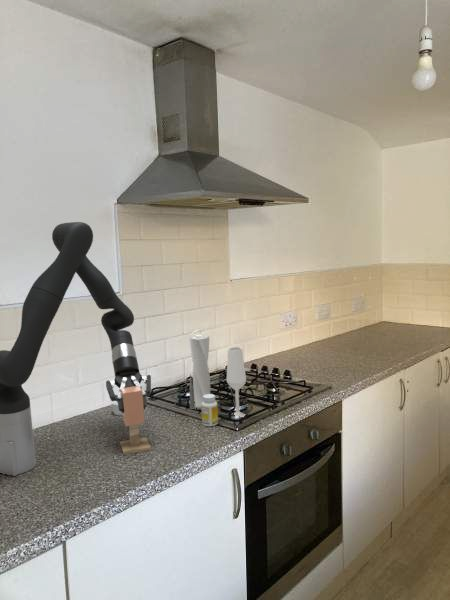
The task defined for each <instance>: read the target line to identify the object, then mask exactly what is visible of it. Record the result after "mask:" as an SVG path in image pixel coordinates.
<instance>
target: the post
mask: <svg viewBox="0 0 450 600" xmlns="http://www.w3.org/2000/svg"><path fill="white" fill-rule="evenodd" d="M128 431H129V432H128V434H129V439H128V440H122V441H119V445H120V448H121V451H122V453H123V455H129V454H134V453H135V454H136V453H140V452H146V451H150V450H151V451H152V447H151V445H150V443H149V440H148V439H147V437H146V436H145V437H140V424H136V425H131V426H128Z"/></svg>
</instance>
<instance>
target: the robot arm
mask: <svg viewBox="0 0 450 600" xmlns="http://www.w3.org/2000/svg"><path fill="white" fill-rule="evenodd" d="M51 233H52V234H51V237H52V238H51V239H52V243H53V245H54V247H55V248H56V249H57V251H58V255H57V257H56V258H55V260H54V261H53V262H52V263H51V264H50V265H49V266H48V267H47V268H46V269H45V270H44V271H43V272H42V273H41V274H40V275H39V276H38V278H36V280H35V281H34V282H33V284H32V286H31V287H30V289H29V292H28V294H27V295H26V297H25V299H24V301H23V305H22V309H21V322H20V324H21V325H20V330H19V333H18V335H17V338H16V340H15V342H14V344H13V346H12V347H11V349H10V350H5V349H4V350H3V349H2V350H0V473H2V474H1V475H5V474H7V475H8V476H11V475H12V477H17V475H20V474H24V473H26V472H29V471H31V470H32V469H34V468H35V467H36V465H37V460H36V458H37V457H36V449H35V440H34V439H35V438H34V430H33V429H34V427H33V420H32V419H33V417H32V409H31V400H30V397H29V396H30V395H28V393H27V392H26V391H25V390H24V388H23V387H22V385H23V384H25V383H26V382H28V380H29V378H30V376H31V375H32V372H33V370H34V369H35V365H36V361H37V359H38V355H39V353H40V350H41V348H42V345H43V343H44V340H45V338H46V336H47V333H48V332H49V329H50V328H51V325H52V323H53V320H55V319H54V318H55V316H56V315H57V312H58V311H59V309H60V307H61V304H62V302H63V300H64V298H65V295H66V293H67V292H68V291H67V290H69V287H70V285H71V283H72V281H73V279H74V277H75V274H77V276H78V277H79V279H81V281H82V282H83V283H82V284H84V286H85V287H86V289H87V290H88V292H89V293H90V294H89V295H90V296H91V298H92V300H93V301H94V302H95V303H94V304H96V306H97V308H98V309H100V310H110V311H106V312H104V313H103V314H102V316H101V318H100V319H101V320H100V321H101V325H102V327H103V329H104V331H105V332H106V335H107V337H108V340H109V342H110V348H111V360H112V362H111V363H112V366H113V372H114V379H113V380H106V381H105V388H106V391H107V394H108V395H109V399H110V401H111V402H112V401H117V402H118V408H119V411H121V412H122V413H124V405H123V399H122V393H121V389H124V388H126V387H133V386H137V387H139V386H140V388H141V389H142V394H143V407H144V410H146V408H147V406H148V402H147V397H150V396H151V391H152V376H151V374H148V375H146V376H145V375H142V374H141V372H140V368H139V363H138V358H137V357H138V356H137V353H136V350H135V347H134V341H133V337H132V334H131V332H130V331H129V330H124V329H126V328H129V327H131V326H132V325H133V324H134V321H135V317H134V314H133V311H132V310H131V309H130V308H129V306H128V305H127V304H126V303H124V302H123V301H122V300H121V298H119V296H118V295H117V293H116V292H115V289H114V288H113V286H112V284H111V283H110V281H109V280H108V279H107V277H106V275H104V274H103V272H102V271H100V269H98V267H96V266H95V264H93V263H92V261H91V260H90V259H89V258H88V256H87V254H88V253H89V251H90V249H91V247H92V244H93V242H94V232H93V230H92V227H91V226H90V225H89V224H87V223H85V222H81V221H74V222H73V221H71V222H63V223H62V222H61V223H59V224H56V226H55V227H54V229H53V230H52V232H51ZM142 381H143V383H144V384H145V386H146V387H145V389H143V386H142V385H141V384H142V383H141V382H142ZM114 385H115V386H116V387H118V388H119V389H118V394H115V391H114V388H115V387H114ZM7 475H6V476H7Z"/></svg>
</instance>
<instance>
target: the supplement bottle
mask: <svg viewBox="0 0 450 600" xmlns="http://www.w3.org/2000/svg"><path fill="white" fill-rule="evenodd" d="M201 408H202V409H201V424H202V425H203V426H205V427H215V426H216V425H218V424H219V413H218V412H219V411H218V410H219V409H218V402H217V401H216V395H215V394H213V393H210V394H206V395H204V396H203V402H202V404H201Z"/></svg>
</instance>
